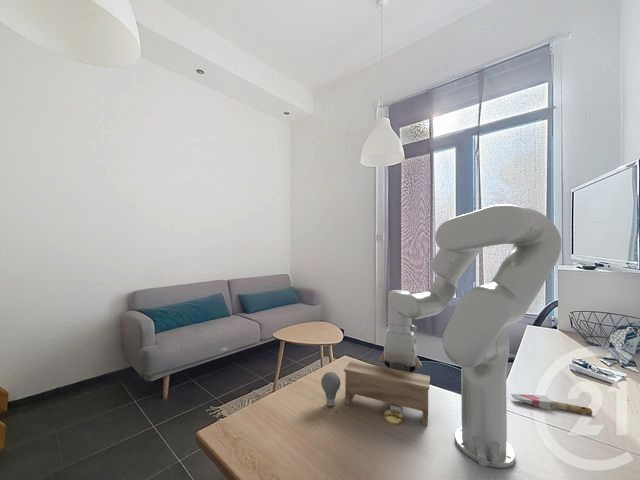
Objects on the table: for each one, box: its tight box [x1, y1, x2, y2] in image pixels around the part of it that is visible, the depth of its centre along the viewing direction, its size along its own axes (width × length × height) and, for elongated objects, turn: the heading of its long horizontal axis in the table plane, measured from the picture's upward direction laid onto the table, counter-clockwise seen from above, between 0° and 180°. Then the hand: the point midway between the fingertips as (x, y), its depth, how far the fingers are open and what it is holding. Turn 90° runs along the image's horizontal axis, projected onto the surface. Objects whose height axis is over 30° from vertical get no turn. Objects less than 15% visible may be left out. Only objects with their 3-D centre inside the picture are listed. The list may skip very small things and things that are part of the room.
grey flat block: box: [389, 363, 406, 414], centre depth 83 cm, size 12×4×14 cm, turn 155°
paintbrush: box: [510, 393, 593, 416], centre depth 82 cm, size 4×3×20 cm
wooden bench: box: [343, 360, 431, 427], centre depth 81 cm, size 7×25×11 cm, turn 65°
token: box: [383, 409, 403, 426], centre depth 75 cm, size 5×5×2 cm
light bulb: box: [320, 371, 341, 407], centre depth 82 cm, size 6×6×10 cm
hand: (399, 383), depth 87 cm, fingers closed on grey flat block, 3 cm apart
